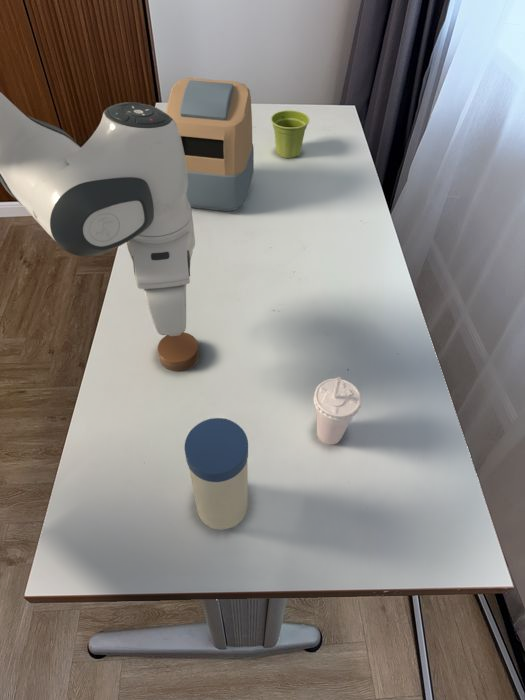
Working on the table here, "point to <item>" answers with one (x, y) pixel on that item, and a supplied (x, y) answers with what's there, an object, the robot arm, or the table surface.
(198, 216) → the table surface
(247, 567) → the table surface
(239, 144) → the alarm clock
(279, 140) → the plant pot
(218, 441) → the bottle
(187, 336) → the brown lid
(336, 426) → the smoothie
